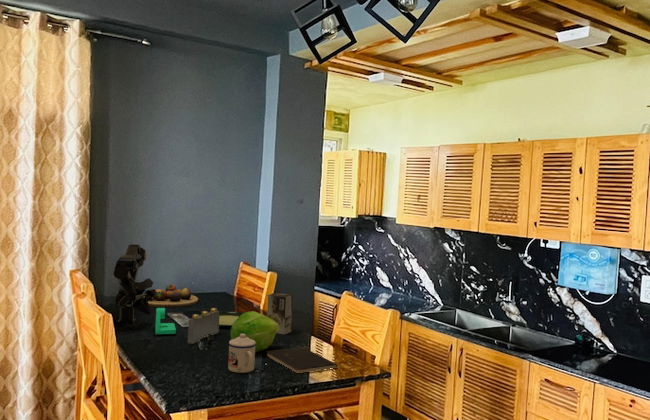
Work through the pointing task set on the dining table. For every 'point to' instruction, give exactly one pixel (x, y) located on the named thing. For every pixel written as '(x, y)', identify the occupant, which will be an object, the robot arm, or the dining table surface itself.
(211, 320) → the grey upright panel
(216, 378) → the dining table surface
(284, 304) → the coffee box
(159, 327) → the camera mount
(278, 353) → the hardcover book
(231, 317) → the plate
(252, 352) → the teacup with lid
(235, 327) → the lettuce
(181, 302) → the wooden plate with food
